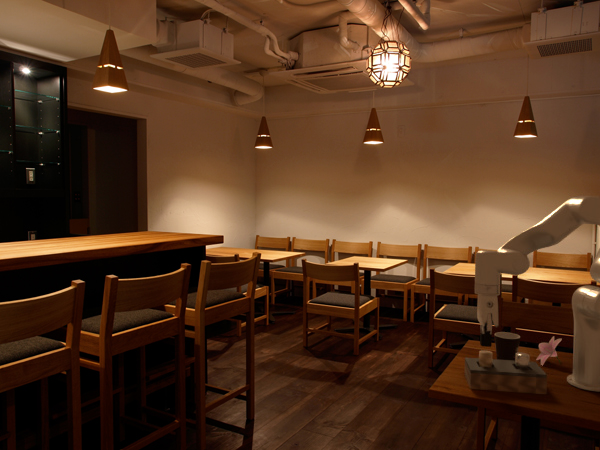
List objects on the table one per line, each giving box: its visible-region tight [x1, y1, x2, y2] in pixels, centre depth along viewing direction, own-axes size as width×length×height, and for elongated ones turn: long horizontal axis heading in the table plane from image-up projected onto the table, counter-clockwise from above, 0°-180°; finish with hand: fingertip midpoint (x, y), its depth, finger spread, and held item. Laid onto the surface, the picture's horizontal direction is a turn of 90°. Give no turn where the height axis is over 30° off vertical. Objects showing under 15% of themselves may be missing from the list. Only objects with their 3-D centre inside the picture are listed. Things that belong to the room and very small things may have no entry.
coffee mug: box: [494, 331, 521, 361], centre depth 174 cm, size 12×9×10 cm
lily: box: [535, 336, 563, 367], centre depth 173 cm, size 12×12×10 cm
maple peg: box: [478, 349, 494, 368], centre depth 153 cm, size 4×4×6 cm
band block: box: [464, 357, 548, 395], centre depth 152 cm, size 22×12×6 cm, turn 79°
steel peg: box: [515, 351, 530, 370], centre depth 151 cm, size 4×4×6 cm
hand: (485, 345), depth 153 cm, fingers closed
